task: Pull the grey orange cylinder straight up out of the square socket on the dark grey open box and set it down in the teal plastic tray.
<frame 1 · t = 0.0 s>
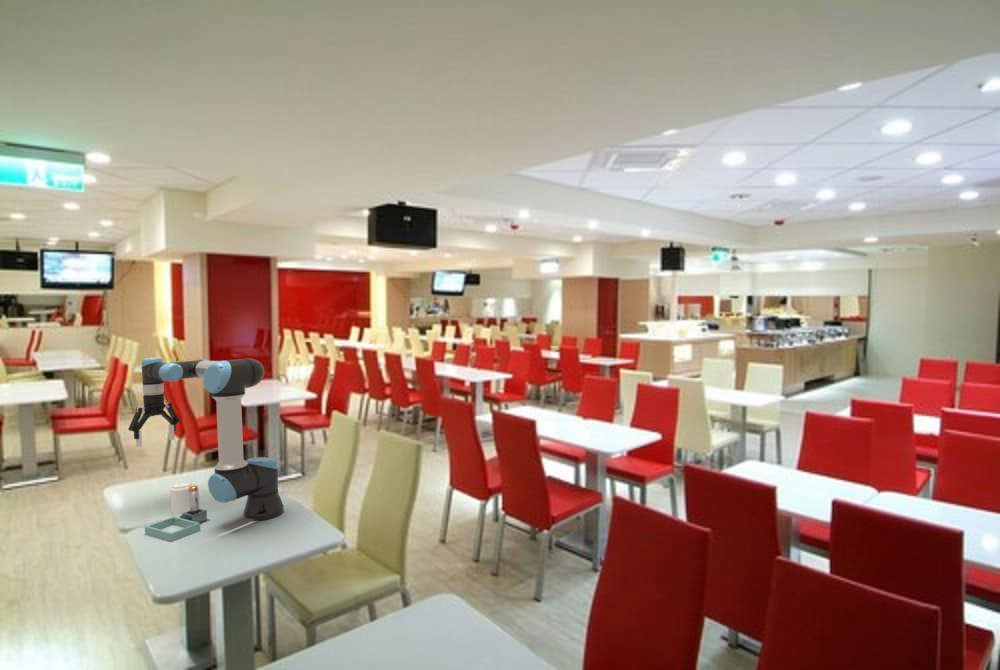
hand: (155, 443, 231), 28 cm above the table, fingers open, 13 cm apart
grey orange cylinder: (195, 521, 212), point 1 cm above the table, touching dark grey open box
tray: (173, 534, 202), on the table
white upright cylinder: (183, 513, 225), on the table
dark grey open box: (191, 523, 213), on the table
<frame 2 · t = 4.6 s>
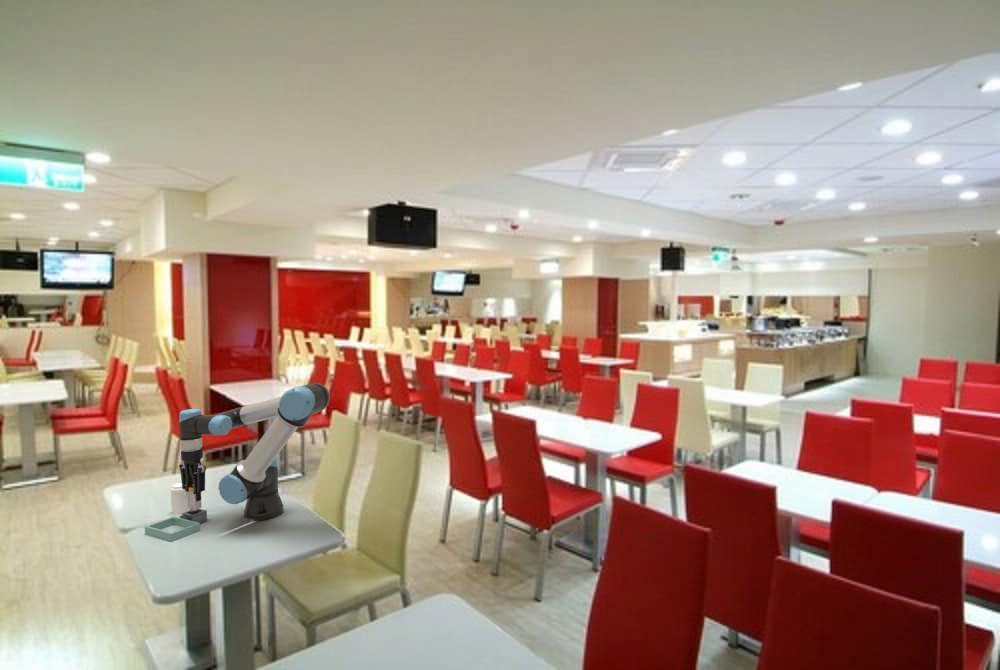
hand: (194, 507, 212), 7 cm above the table, fingers closed on grey orange cylinder, 3 cm apart
grey orange cylinder: (195, 521, 212), point 1 cm above the table, touching gripper, dark grey open box
everything else where it was.
when the fingers open (7 cm above the table, at t = 10.0 s): grey orange cylinder stays where it is, resting on tray.
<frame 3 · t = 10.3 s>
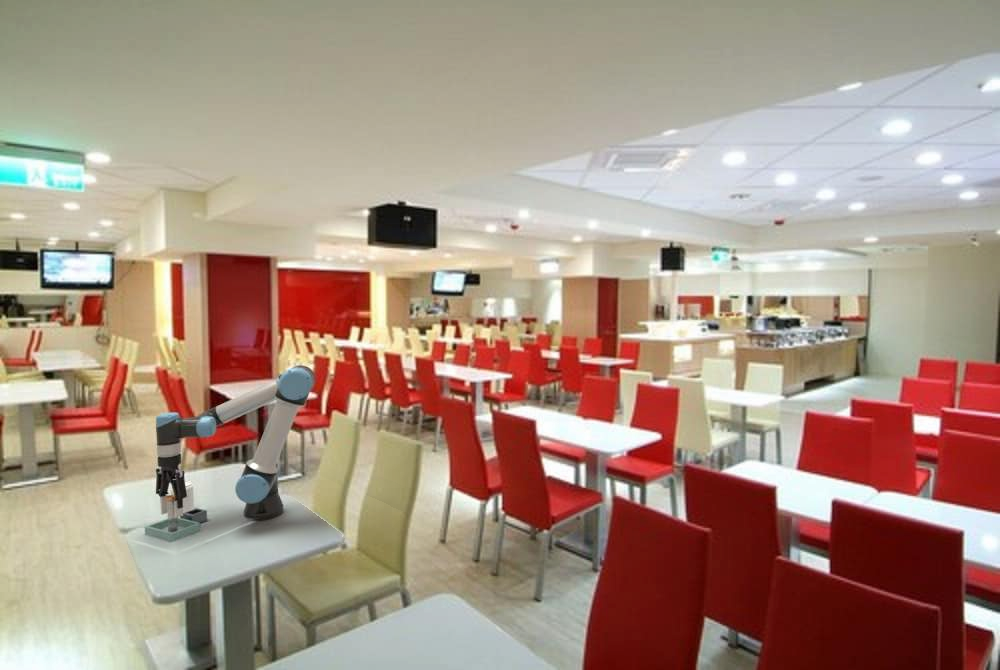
hand: (172, 514, 202), 8 cm above the table, fingers open, 8 cm apart
grey orange cylinder: (173, 532, 202), point 1 cm above the table, touching tray
everything else where it was.
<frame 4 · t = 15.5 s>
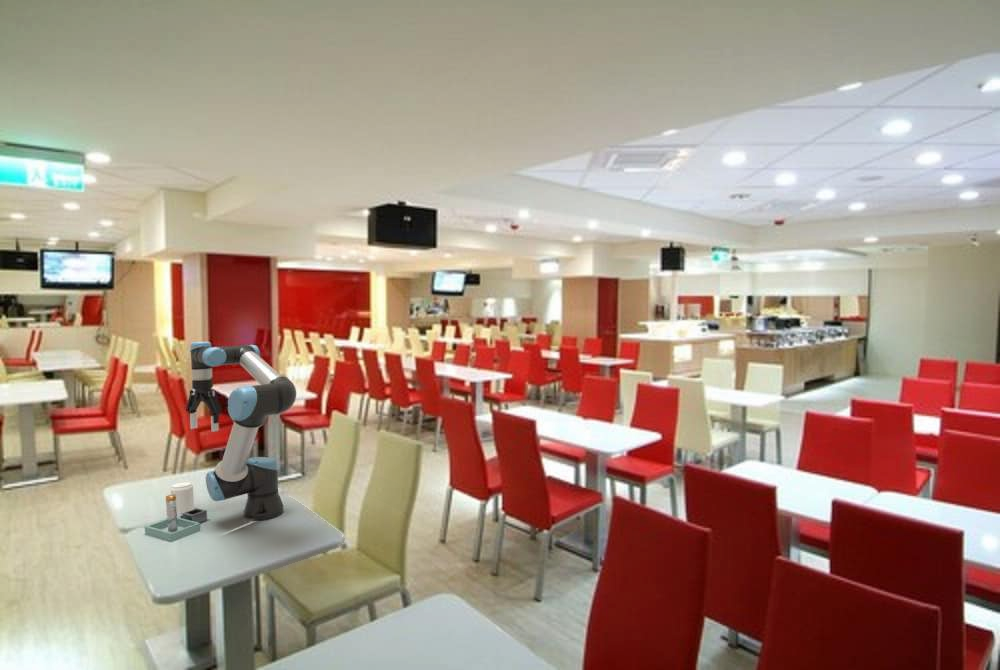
hand: (204, 429, 224), 35 cm above the table, fingers open, 13 cm apart
nothing on the table moved.
at the end: grey orange cylinder inside the target area on the tray (0.1 cm from its centre), point 0.8 cm above the tray's base; the gripper is holding nothing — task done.
